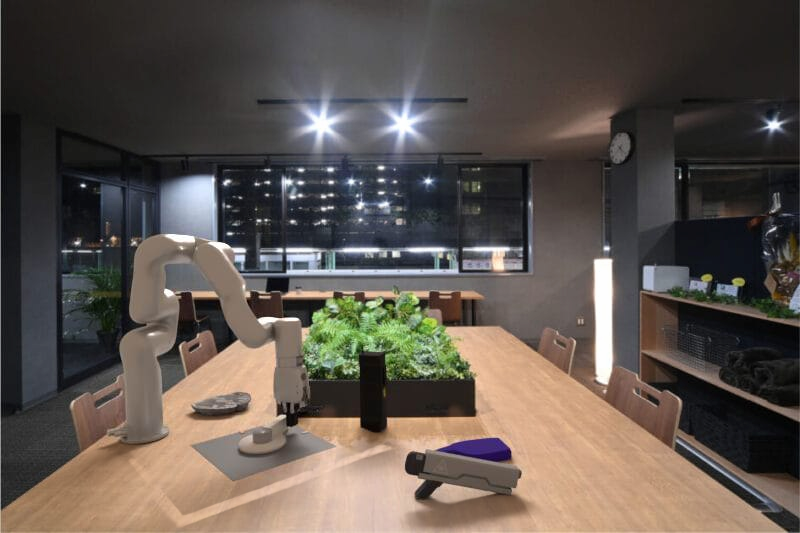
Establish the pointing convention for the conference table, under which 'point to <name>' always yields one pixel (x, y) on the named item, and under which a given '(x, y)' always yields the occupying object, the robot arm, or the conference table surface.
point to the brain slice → (222, 403)
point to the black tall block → (373, 391)
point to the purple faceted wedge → (480, 449)
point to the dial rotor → (265, 438)
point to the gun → (460, 472)
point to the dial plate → (242, 465)
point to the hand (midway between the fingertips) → (292, 425)
